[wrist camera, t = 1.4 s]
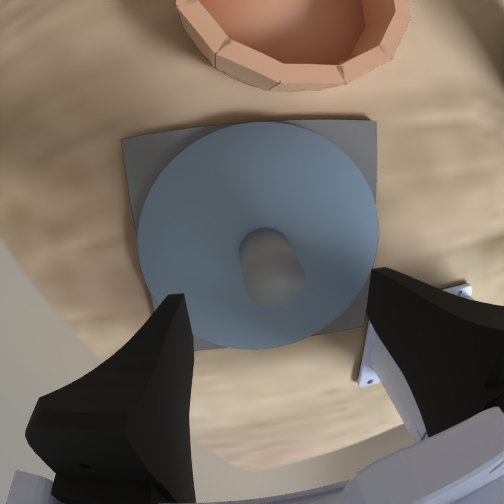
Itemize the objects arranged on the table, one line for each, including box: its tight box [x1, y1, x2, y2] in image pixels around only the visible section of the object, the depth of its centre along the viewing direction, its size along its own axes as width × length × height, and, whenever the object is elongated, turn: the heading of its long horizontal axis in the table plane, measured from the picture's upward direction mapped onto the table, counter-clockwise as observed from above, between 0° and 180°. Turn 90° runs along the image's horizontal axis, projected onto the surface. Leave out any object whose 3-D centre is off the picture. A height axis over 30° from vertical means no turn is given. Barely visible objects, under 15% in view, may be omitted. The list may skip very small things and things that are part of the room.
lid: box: [138, 122, 378, 349], centre depth 15 cm, size 13×13×4 cm
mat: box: [121, 120, 377, 351], centre depth 17 cm, size 13×13×1 cm
